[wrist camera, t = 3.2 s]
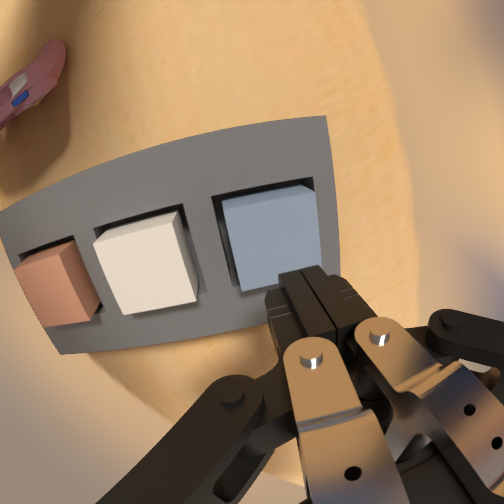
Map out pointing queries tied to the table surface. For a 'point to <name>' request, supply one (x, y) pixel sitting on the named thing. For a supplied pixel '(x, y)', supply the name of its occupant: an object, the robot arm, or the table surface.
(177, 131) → the table surface
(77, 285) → the terracotta key
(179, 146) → the key console
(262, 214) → the slate blue key
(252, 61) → the table surface
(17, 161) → the table surface
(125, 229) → the off-white key
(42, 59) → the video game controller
